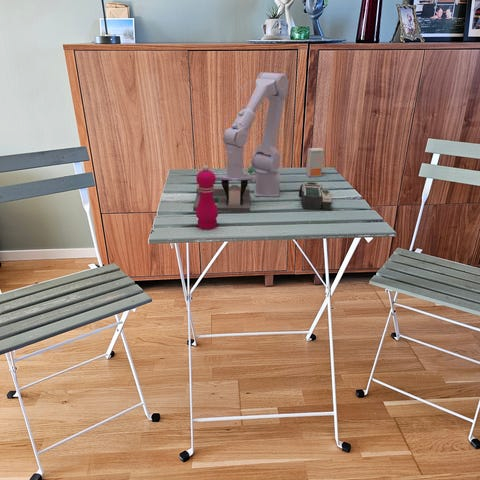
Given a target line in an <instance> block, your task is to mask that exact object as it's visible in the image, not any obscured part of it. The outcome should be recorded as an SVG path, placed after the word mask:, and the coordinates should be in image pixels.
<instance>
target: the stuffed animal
mask: <svg viewBox="0 0 480 480" xmlns="http://www.w3.org/2000/svg"><path fill="white" fill-rule="evenodd" d="M243 174H247V175H255V182H256V171H255V168H254V167H253V166H252V163H251V164H249V165H248V168H247V170H244V171H243Z"/></svg>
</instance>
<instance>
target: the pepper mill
mask: <svg viewBox="0 0 480 480" xmlns="http://www.w3.org/2000/svg"><path fill="white" fill-rule="evenodd" d="M209 169H210V168H209V166H208V165H206V164H205V165H203V167H202V169H201V170H200V171H198V173H197V174H196V179H195V181H196V183H197V185H199V186H198V188H199V189H198V190H199V191H200V200H199V203H198V205H197V208H196V211H195V216H196V218H197V227H198V228H199V229H203V230H211V229H215V228H216V227H217V226H218V220H217V218H218V216H219V211H218V209H217V206H216V205H217V204H216V203H215V202H216V201H214V199H213V191H214V186H215V183H216V182H217V181H216V177H215V175H216V173H214V172H213V171H212V170H209Z"/></svg>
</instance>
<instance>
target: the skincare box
mask: <svg viewBox="0 0 480 480" xmlns="http://www.w3.org/2000/svg"><path fill="white" fill-rule="evenodd" d="M324 155H325V149H323V148H322V147H311V148H310V147H309V148H307V156H306V167H305V175H306V176H307V177H309V178H311V177H313V178H314V177H322V173H323V165H324V164H323V163H324Z"/></svg>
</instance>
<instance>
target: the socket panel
mask: <svg viewBox="0 0 480 480" xmlns="http://www.w3.org/2000/svg"><path fill="white" fill-rule="evenodd" d="M198 186H199V184H197V186H196V189H195V190H196V197H195V199H194V203H193V206H192V210H193V211H192V212H196V208H197V205H198V203H199V200H200V191H199V190H198V189H199V188H198ZM238 186H239V187H240V193H241V185H238ZM250 188H251V187H250V185H247V187H246V189H245V191H244V194H243V198H242V201H240V203H242V205H241V204H240V205H229V204H227V203H229V201H227V196H226V193H225V191H224V188H223V187H222V185H214V191H213V199H214V202H217V204H216V206H217V209H218V212H234V213H235V212H237V213H238V212H242V213H244V212H245V213H247V212H249V213H250V212H251V205H250V204H251V203H250V202H251V198H250V197H251V196H250V195H251V192H250V190H251V189H250Z"/></svg>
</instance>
